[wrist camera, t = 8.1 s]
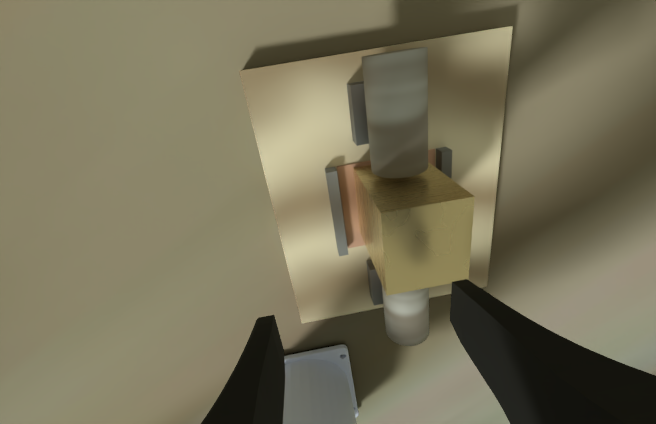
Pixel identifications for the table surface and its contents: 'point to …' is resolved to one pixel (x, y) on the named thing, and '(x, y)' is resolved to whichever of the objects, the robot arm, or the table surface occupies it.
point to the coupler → (415, 228)
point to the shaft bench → (325, 140)
